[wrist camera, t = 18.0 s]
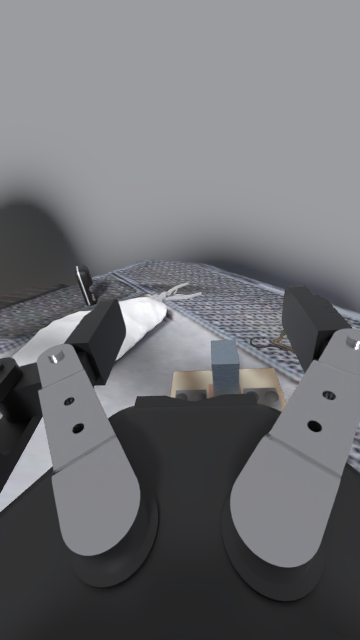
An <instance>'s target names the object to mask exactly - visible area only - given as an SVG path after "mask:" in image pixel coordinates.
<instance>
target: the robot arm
mask: <svg viewBox="0 0 360 640" xmlns="http://www.w3.org/2000/svg"><path fill="white" fill-rule="evenodd" d="M282 325H283V329H284V331H285V333H286V335H287V337H288V339H289V341H290V343H291V345H292V348H293V350H294V352H295V354H296V356H297V358H298V360H299V362H300V364H301V366H302V368H303V370H304V372H305V375H304V376H303V378H302V380H301V381H300V383H299V384H298V386H297V388H296V389H295V391H294V393H293V394H292V396H291V398H290V399H289V401H288V403H287V404H286V406H285V408H284V409H283V411H282V412H281V411H279V410H277V409H275V408H272V407H270V406H267V405H263V404H259V403H257V400H256V396H255V394H224V395H220V396H216V397H211V398H207V399H203V400H199V401H188V400H183V399H178V398H173V397H168V396H137V399H136V402H135V406H132V407H129V408H126V409H124V410H121V411H119V412H117V413H116V414H114V415H112V416H111V417H109V418H107V416H106V414H105V412H104V410H103V407H102V405H101V403H100V401H99V399H98V397H97V395H96V393H95V391H94V389H93V388H94V386H95V385H105V384H106V382H107V379H108V377H109V375H110V372H111V370H112V367H113V365H114V363H115V360H116V358H117V356H118V353H119V351H120V349H121V346H122V344H123V342H124V339H125V337H126V326H125V322H124V319H123V315H122V312H121V308H120V305H119V302H118V300H117V299H112V300H101V301H100V302H99V304H98V305H97V307H96V308H95V309H94V310H93V311H91V312H89V313H88V314H86V315H85V316H84V317H83V318H82V320H81V321H80V322H79V324H78V325H77V326H76V328H75V329H74V330H73V332H72V333H71V334H70V336H69V337H68V338H67V340H66V341H65V342H64V344H60V345H56V346H53V347H51V348H49V349H47V350H45V351H44V352H43V353H41V354H40V356H39V357H38V359H37V362H35V363H31V364H27V365H23V366H20V367H19V366H18V364H17V362H16V361H15V359H13V358H2V359H0V412H1V414H2V415H3V417H2V418H1V419H0V493H1V491H2V489H3V487H4V485H5V484H6V482H7V480H8V478H9V476H10V475H11V473H12V471H13V469H14V467H15V466H16V464H17V462H18V460H19V458H20V456H21V455H22V453H23V451H24V449H25V447H26V446H27V444H28V442H29V440H30V438H31V437H32V435H33V433H34V431H35V429H36V427H37V426H38V424H39V422H40V420H41V418H42V417H43V419H44V424H45V429H46V434H47V439H48V444H49V449H50V454H51V459H52V464H53V467H52V468H50V469H49V470H48V471H47V472H46V473H45V474H44V475H42V476H41V477H40V478H39V479H38V480H37V481H36V482H34V483H33V484H32V485H31V486H30V487H29V488H28V489H26V490H25V491H24V492H23V493H22V494H21V495H20V496H18V497H17V498H16V499H15V500H14V501H13V502H12V503H10V504H9V505H8V506H7V507H6V508H5V509H4V510H2V511H1V512H0V640H360V473H359V472H358V471H357V470H355V469H354V468H353V467H352V466H351V465H349V464H348V463H347V462H346V460H347V457H348V454H349V451H350V448H351V445H352V442H353V439H354V436H355V433H356V430H357V427H358V424H359V421H360V330H358V329H353V328H352V327H351V326H350V325H349V324H348V323H347V322H346V320H345V319H344V318H343V317H342V316H341V315H340V314H339V313H338V311H337V310H336V309H335V308H333V306H332V305H331V304H330V302H329V301H328V300H326V299H324V298H322V297H320V296H319V295H312V293H311V292H310V291H309V290H308V289H307V287H306V286H305V285H301V286H288V287H286V289H285V293H284V302H283V311H282Z"/></svg>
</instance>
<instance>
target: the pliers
mask: <svg viewBox="0 0 360 640" xmlns="http://www.w3.org/2000/svg"><path fill="white" fill-rule="evenodd" d="M185 285H188V283H185V284H181V285H178V286H176V287H174V288H172V289H170V290H169V291H168V292H163V293H161V294H160V295H159V296H158V295H154V296H150V297H148V298H151V299H154V300H156V301H158V302H162V300H170V299H176V300H179V299H187V298H192V297H195V296H198V295H200V294H202V293H201V292H200V293H196V294H192V295H182V294H175V293H176V292H177V289H178V288H180V287H183V286H185ZM175 290H176V291H175ZM173 291H175V292H174V293H173V294H175V296H171V297H166V296H168V295H171V294H172V292H173Z"/></svg>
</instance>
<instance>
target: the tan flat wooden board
mask: <svg viewBox="0 0 360 640" xmlns="http://www.w3.org/2000/svg"><path fill="white" fill-rule="evenodd" d="M239 394H255V396H256V400H257V403H259V404H263V405H267V406H270V407H272V408H275V409H277V410H279V411H281V412H282V411H283V409H284V408H285V406H286V402H285V399H284V396H283V393H282V390H281V387H280V384H279V381H278V379H277V376H276V373H275V370H274V368H263V369H239ZM170 397H173V398H178V399H183V400H188V401H199V400H203V399H207V398H211V397H214V390H213V376H212V370H209V371H182V372H174V373H173V381H172V389H171V396H170Z"/></svg>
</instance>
